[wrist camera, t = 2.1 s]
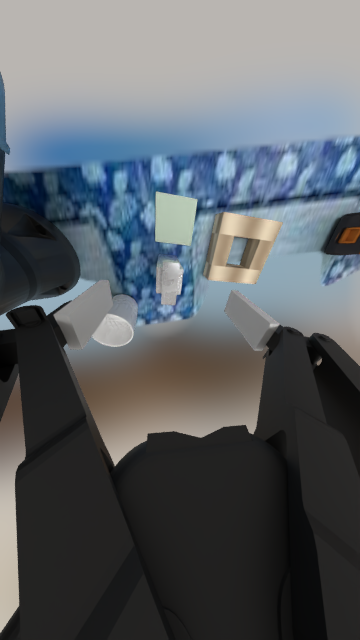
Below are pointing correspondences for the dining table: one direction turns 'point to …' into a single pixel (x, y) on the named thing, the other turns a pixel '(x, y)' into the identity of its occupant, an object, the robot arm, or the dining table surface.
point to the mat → (174, 218)
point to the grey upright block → (168, 278)
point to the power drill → (346, 236)
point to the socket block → (255, 252)
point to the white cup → (118, 322)
